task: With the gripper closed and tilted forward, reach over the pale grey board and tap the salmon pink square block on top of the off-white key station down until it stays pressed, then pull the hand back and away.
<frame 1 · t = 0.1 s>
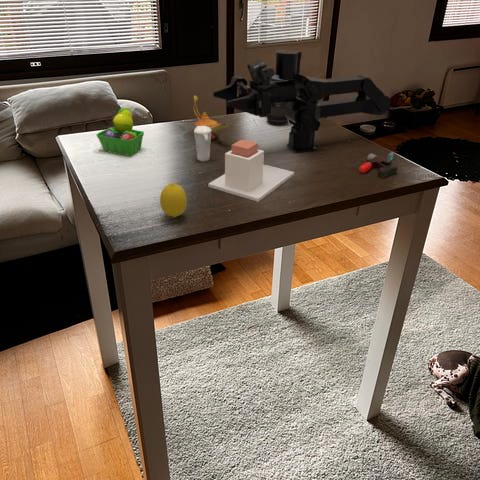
hand: (219, 99, 120), 17 cm above the table, tool horizontal, fingers open, 9 cm apart
fruit basket: (123, 150, 135), on the table
lemon: (174, 218, 102), on the table
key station: (243, 186, 116), on the table
toy gun: (372, 170, 126), on the table
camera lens: (277, 123, 157), on the table
salmon pink square block: (244, 150, 111), point 9 cm above the table, slide at 0.0 cm
takeaway coffee cup: (204, 160, 130), on the table
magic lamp: (209, 139, 144), on the table
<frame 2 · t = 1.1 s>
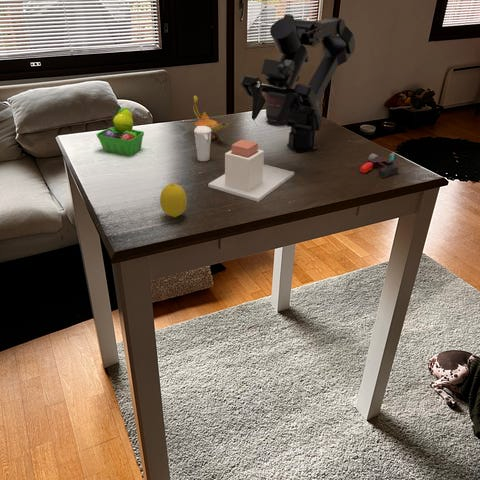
hand: (264, 121, 115), 14 cm above the table, tool tilted 45°, fingers open, 6 cm apart
nothing on the table moved.
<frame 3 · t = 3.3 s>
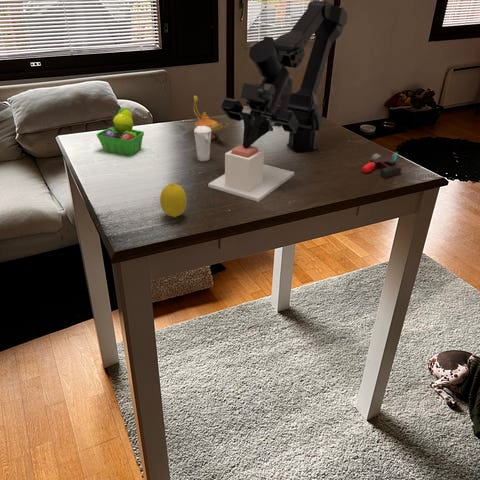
hand: (244, 147, 110), 10 cm above the table, tool tilted 45°, fingers closed, pressing on salmon pink square block
salmon pink square block: (244, 154, 111), point 8 cm above the table, slide at 1.1 cm, touching gripper
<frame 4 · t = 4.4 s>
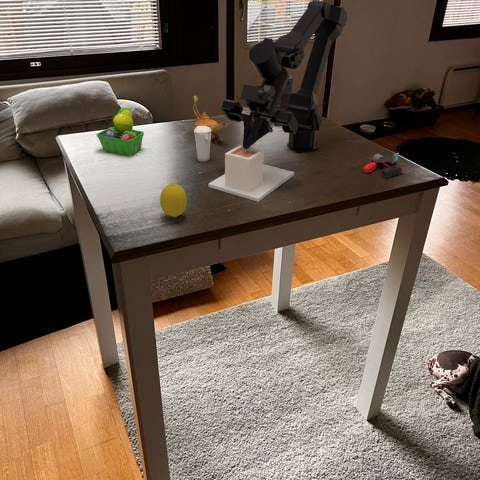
hand: (244, 148, 110), 10 cm above the table, tool tilted 45°, fingers closed
salmon pink square block: (244, 160, 112), point 7 cm above the table, slide at 2.5 cm
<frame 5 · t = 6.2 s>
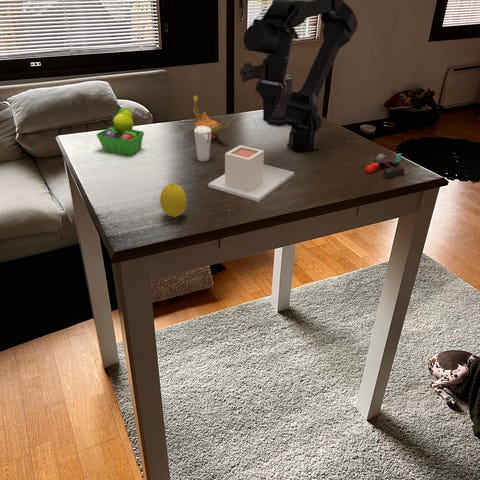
hand: (265, 120, 121), 12 cm above the table, tool pointing down, fingers closed
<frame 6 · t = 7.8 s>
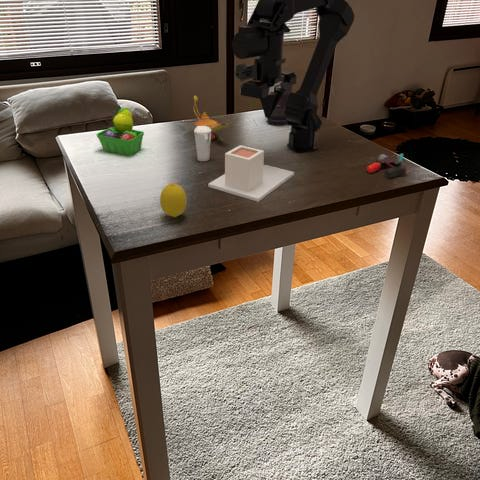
hand: (267, 117, 123), 12 cm above the table, tool pointing down, fingers closed
at the end: salmon pink square block slide at 2.5 cm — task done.
